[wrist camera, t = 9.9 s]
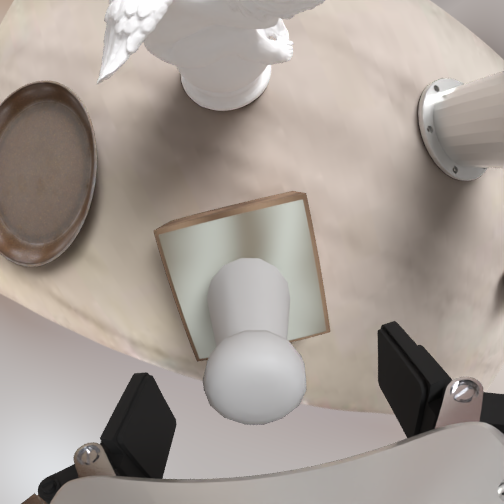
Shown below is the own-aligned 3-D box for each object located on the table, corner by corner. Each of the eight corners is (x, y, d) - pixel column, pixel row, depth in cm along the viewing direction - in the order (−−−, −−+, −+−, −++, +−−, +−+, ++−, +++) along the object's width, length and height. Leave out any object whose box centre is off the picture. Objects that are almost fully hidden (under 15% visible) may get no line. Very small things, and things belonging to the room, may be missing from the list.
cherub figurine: (296, 68, 25) (394, -85, 4) (227, 167, 27) (195, 122, 6) (196, 18, 23) (154, -141, 2) (126, 110, 25) (-36, 26, 4)
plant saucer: (104, 272, 29) (90, 282, 26) (-13, 248, 28) (-28, 254, 25) (125, 80, 25) (113, 70, 21) (-1, 98, 23) (-16, 94, 20)
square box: (292, 191, 28) (306, 193, 21) (314, 305, 30) (331, 333, 24) (171, 220, 28) (152, 231, 22) (204, 330, 31) (196, 363, 24)
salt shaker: (198, 300, 23) (160, 416, 10) (231, 237, 22) (217, 309, 9) (263, 330, 24) (281, 455, 11) (298, 271, 23) (357, 368, 10)
